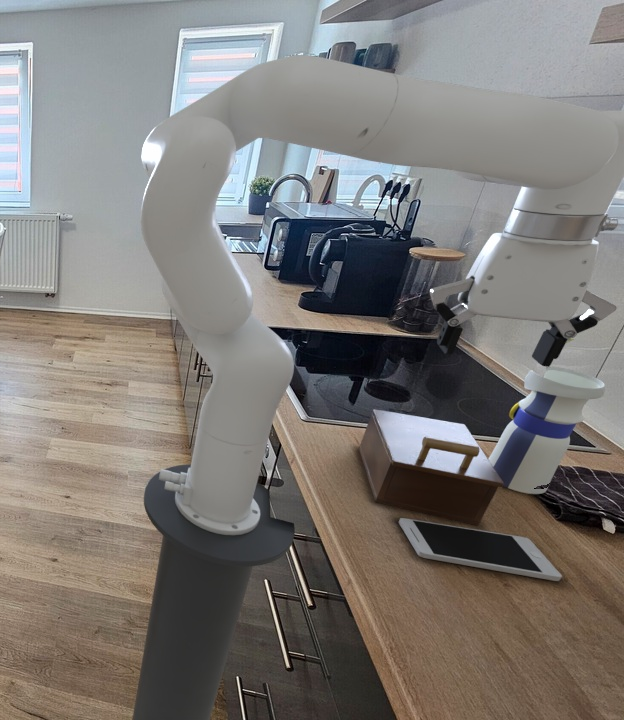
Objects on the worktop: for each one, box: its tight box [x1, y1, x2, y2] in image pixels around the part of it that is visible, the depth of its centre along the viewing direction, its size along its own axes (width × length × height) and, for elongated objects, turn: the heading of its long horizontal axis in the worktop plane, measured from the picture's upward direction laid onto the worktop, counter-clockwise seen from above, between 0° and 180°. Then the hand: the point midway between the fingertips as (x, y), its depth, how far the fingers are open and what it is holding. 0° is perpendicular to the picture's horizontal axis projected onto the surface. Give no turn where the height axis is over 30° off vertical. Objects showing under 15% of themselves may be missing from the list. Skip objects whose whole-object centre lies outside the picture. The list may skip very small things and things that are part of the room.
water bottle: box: [487, 338, 606, 495], centre depth 78 cm, size 8×9×25 cm
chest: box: [358, 413, 499, 526], centre depth 81 cm, size 16×13×8 cm
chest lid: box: [371, 408, 504, 488], centre depth 78 cm, size 16×13×5 cm
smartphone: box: [398, 517, 563, 582], centre depth 70 cm, size 7×15×1 cm, turn 73°
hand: (491, 356), depth 66 cm, fingers open, 9 cm apart
